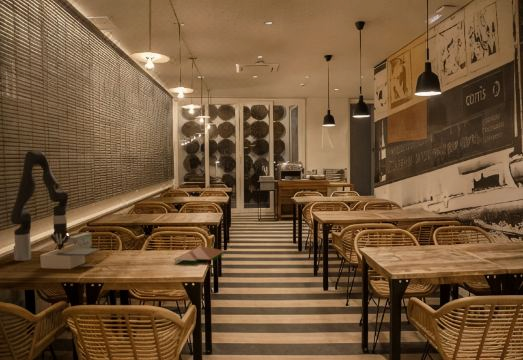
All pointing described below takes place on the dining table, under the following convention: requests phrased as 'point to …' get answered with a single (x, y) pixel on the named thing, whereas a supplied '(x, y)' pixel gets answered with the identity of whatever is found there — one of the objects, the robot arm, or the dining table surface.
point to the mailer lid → (76, 251)
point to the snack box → (81, 241)
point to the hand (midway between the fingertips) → (61, 249)
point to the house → (200, 255)
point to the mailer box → (61, 260)
